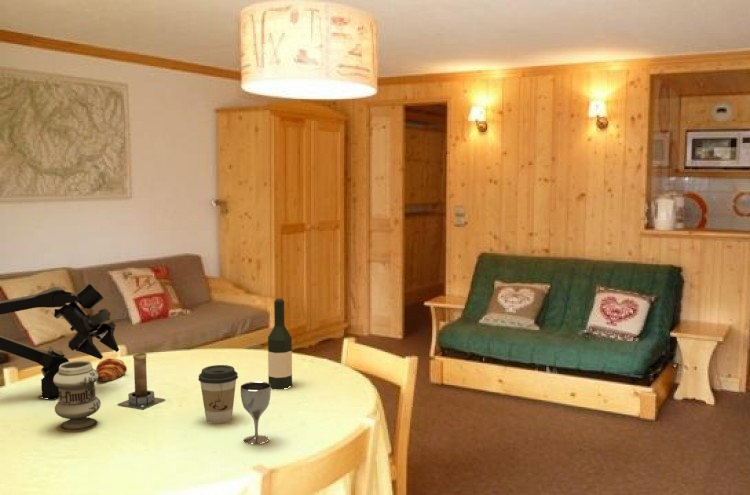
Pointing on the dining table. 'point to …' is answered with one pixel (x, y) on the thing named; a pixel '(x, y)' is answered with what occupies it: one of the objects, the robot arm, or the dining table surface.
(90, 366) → the apothecary jar
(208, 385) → the coffee cup
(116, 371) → the croissant
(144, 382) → the tall ribbed vase
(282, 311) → the wine bottle
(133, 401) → the cup bracket
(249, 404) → the wine glass
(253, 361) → the dining table surface
